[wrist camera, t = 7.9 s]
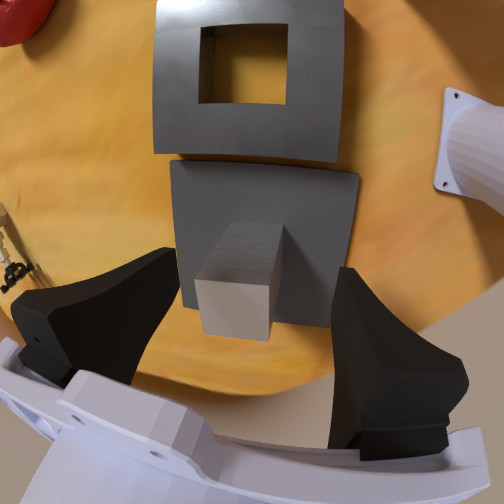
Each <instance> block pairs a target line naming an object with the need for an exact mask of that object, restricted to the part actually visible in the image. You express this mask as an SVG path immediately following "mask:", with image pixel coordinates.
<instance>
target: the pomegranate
mask: <svg viewBox="0 0 504 504" xmlns="http://www.w3.org/2000/svg"><path fill="white" fill-rule="evenodd" d="M54 3H55V0H0V47H8V46H13V45H17V44H21V43H24V42H25V41H27V40H29V39H30V38H31V37H32V36H33V35H34V34H35V33H36V32H37V31H38V29H39V28H40V26H41V25H42V24H43V22H44V21H45V19H46V18H47V16H48V14H49V12H50V10H51V8H52V6H53V4H54Z"/></svg>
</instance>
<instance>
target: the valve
mask: <svg viewBox="0 0 504 504" xmlns="http://www.w3.org/2000/svg"><path fill="white" fill-rule="evenodd" d="M5 224H7V212H6V209H5V207H4V205H3V203H2V202H0V228H1V227H2V226H4V225H5ZM3 239H4V235H3V233H2V232H1V231H0V261H1V263H3V262H4V263H5V265H6V267H7V268H6V269H5V271H6V273H5V276H4V279H5V282H6V284H7V285H6V286H5V285H3V286H1V287H0V289H1V291H2V292H3V294H5V293H6V292H7V291H9V289H10V288H12V287H13V286H15V285H16V283H17V282H18V281H20V280H21V279H23V278H24V277H25V276H26V274H27V273H29V272H30V271H32V270H33V268H34V266H33V265H32V263H31V262H29V263H28V264H27V266H26V267H27V268H26V267H25V265H24V264H23V263H20V262H19V263H16V264H15V262H13V263H11V261H10V260H9V257H10V255H9V253H8V251H7V249H6V248H3V242H2V241H3ZM18 267H21V269H20V270H19V269H18ZM8 276H9V278H10V279H8Z"/></svg>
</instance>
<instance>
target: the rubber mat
mask: <svg viewBox="0 0 504 504" xmlns="http://www.w3.org/2000/svg"><path fill="white" fill-rule="evenodd" d="M170 177H171V193H172V207H173V220H174V231H175V242H176V251H177V260H178V269H179V277H180V285H181V293H182V300H183V307H186V308H192V309H197V310H199V305H198V300H197V294H196V288H195V282H194V279H195V277H196V276H197V274H198V272H199V271H200V269H201V268H202V266H203V265H204V263H205V262H206V260H207V258H208V257H209V255H210V254H211V252H212V251H213V249H214V248H215V246H216V245H217V243H218V242H219V240H220V238H221V237H222V235H223V234H224V232H225V231H226V229H227V228H228V226H229V225H230V223H231V222H233V223H258V224H280V225H283V267H282V276H281V281H280V286H279V292H278V297H277V302H276V307H275V313H274V318H273V321H274V322H282V323H290V324H298V325H307V326H316V327H326V328H329V325H330V322H331V305H332V301H333V296H334V292H335V287H336V282H337V278H338V273H339V268H340V267H344V263H345V258H346V253H347V248H348V243H349V238H350V233H351V228H352V222H353V216H354V210H355V204H356V198H357V191H358V185H359V177H360V175H359V174H358V173H352V172H345V171H337V170H330V169H321V168H313V167H303V166H293V165H283V164H270V163H256V162H240V161H217V160H171V161H170Z"/></svg>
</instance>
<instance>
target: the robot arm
mask: <svg viewBox="0 0 504 504" xmlns="http://www.w3.org/2000/svg"><path fill="white" fill-rule="evenodd" d="M454 93H456V94H457V99H456V98H455V97H454ZM444 182H446V186H445V187H443V183H444ZM433 185H434V187H435V188H436V189H438V190H441V191H445V192H450V193H454V194H458V195H462V196H466V197H470V198H473V199H477V200H481V201H483V202H485V203H486V204H487V205H489V206H490V207H492V208H493V209H494V210H496V211H497V212H498V213H500V214H501V215H502V216H504V107H501V106H495V105H492V104H490V103H488V102H486V101H484V100H481V99H479V98H477V97H474V96H472V95H469V94H467V93H464V92H462V91H459V90H457V89H454V88H450V87H448V88H446V89H445V90H444V100H443V114H442V125H441V134H440V142H439V150H438V156H437V163H436V169H435V174H434V180H433ZM179 288H180V280H179V273H178V266H177V258H176V250H175V248H167V247H162V248H159V249H157V250H154V251H152V252H150V253H148V254H146V255H144V256H142V257H139V258H137V259H135V260H133V261H131V262H129V263H127V264H125V265H123V266H120V267H118V268H116V269H114V270H111V271H109V272H107V273H104V274H102V275H99V276H96V277H93V278H90V279H87V280H83V281H80V282H76V283H72V284H68V285H64V286H58V287H53V288H45V289H34V290H26V291H25V292H23V293H22V294H21V295H20V296H19V297H18V298H17V299H16V300H15V301H14V302H13V303H12V304H11V314H12V318H13V320H14V322H15V324H16V326H17V328H18V330H19V331H20V333H21V335H22V337H23V338H24V340H25V342H26V344H27V345H26V346H25V347H24V348H22V347H21V346H20V345H19V344H18V343H17V342H15V341H13V340H12V339H10V338H9V337H5V338H4V340H3V341H2V342H1V343H0V399H1V400H2V402H3V403H4V404H5V405H6V406H7V407H8V408H9V409H11V410H12V411H13V412H14V413H15V414H17V415H18V416H19V417H20V418H21V419H22V420H24V421H25V422H26V423H27V424H29V425H30V426H31V427H32V428H34V429H35V430H36V431H37V432H39V433H40V434H41V435H43V436H44V437H45V438H47V439H48V440H49V441H51V442H52V443H53V444H52V446H51V447H50V449H49V451H48V452H47V454H46V456H45V458H44V459H43V461H42V463H41V465H40V466H39V468H38V470H37V472H36V474H35V475H34V477H33V479H32V481H31V483H30V484H29V486H28V488H27V490H26V492H25V494H24V496H23V498H22V499H21V502H20V503H19V504H457V503H459V502H460V501H462V500H464V499H467V498H469V497H470V496H472V495H474V494H476V493H478V492H479V491H481V490H483V489H485V488H487V487H488V486H489V485H490V476H489V469H488V464H487V458H486V452H485V448H484V443H483V439H482V434H481V430H480V427H479V426H475V427H471V428H466V429H460V430H456V431H453V432H451V433H449V434H448V435H447V430H446V427H447V426H448V425H449V423H450V420H449V415H448V414H449V413H450V412H451V411H452V410H453V409H454V407H455V406H456V405H457V404H458V403H459V402H460V400H461V399H462V398H463V396H464V395H465V394H466V392H467V390H468V387H469V379H468V377H467V374H466V371H465V368H464V365H463V363H462V361H461V359H460V358H458V357H456V356H454V355H452V354H449V353H447V352H445V351H443V350H441V349H440V348H438V347H436V346H435V345H433V344H431V343H430V342H428V341H426V340H425V339H423V338H422V337H420V336H419V335H418V334H416V333H415V332H414V331H412V330H411V329H410V328H408V327H407V326H406V325H405V324H403V323H402V322H401V321H400V320H399V319H398V318H397V317H396V316H395V315H393V314H392V313H391V312H390V311H389V310H388V309H387V308H386V306H385V305H384V304H383V303H382V302H381V301H380V300H379V299H378V298H377V297H376V295H375V294H374V293H373V292H372V291H371V289H370V288H369V287H368V286H367V284H366V283H365V282H364V281H363V279H362V278H361V277H360V275H359V274H358V273H357V271H356V270H355V269H354V268H348V267H340V268H339V273H338V278H337V282H336V287H335V292H334V296H333V301H332V305H331V332H332V343H333V354H334V367H335V381H334V397H333V409H332V418H331V427H330V434H329V441H328V447H327V449H318V448H304V447H293V446H283V445H275V444H267V443H261V442H254V441H248V440H243V439H237V438H231V437H227V436H222V435H217V434H213V430H212V428H211V427H210V425H209V424H208V422H207V421H206V420H205V418H204V417H203V416H202V415H201V414H199V413H197V412H196V411H194V410H193V409H191V408H190V407H188V406H186V405H184V404H181V403H179V402H176V401H174V400H171V399H169V398H166V397H162V396H159V395H156V394H152V393H149V392H146V391H143V390H140V389H137V388H134V387H132V386H130V385H131V382H132V379H133V376H134V374H135V371H136V369H137V366H138V364H139V361H140V359H141V357H142V355H143V352H144V350H145V348H146V346H147V344H148V342H149V340H150V338H151V337H152V335H153V334H154V332H155V330H156V329H157V327H158V326H159V324H160V323H161V321H162V319H163V318H164V316H165V315H166V313H167V311H168V310H169V308H170V307H171V305H172V303H173V301H174V299H175V297H176V295H177V292H178V290H179Z"/></svg>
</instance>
